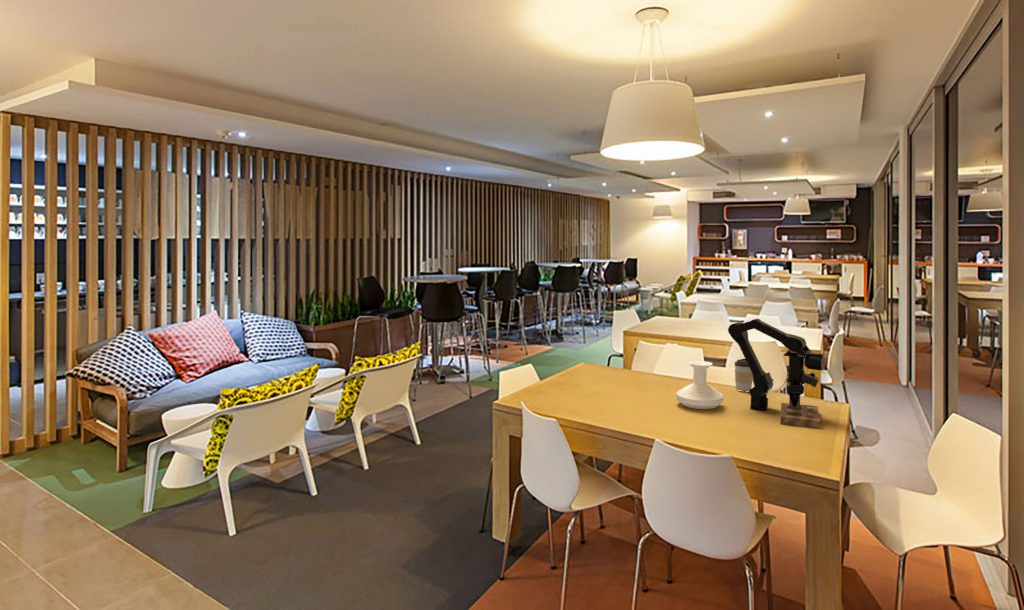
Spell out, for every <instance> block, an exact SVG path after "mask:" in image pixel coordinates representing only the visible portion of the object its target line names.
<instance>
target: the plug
mask: <svg viewBox="0 0 1024 610" xmlns="http://www.w3.org/2000/svg"><path fill="white" fill-rule="evenodd" d="M788 400H789V401H788V403H789V409H798V410H800V404H801V395H800V396H799V398H798V402H797V405H796V407H793V405H792V402H791V400H790V397H789V399H788Z"/></svg>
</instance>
